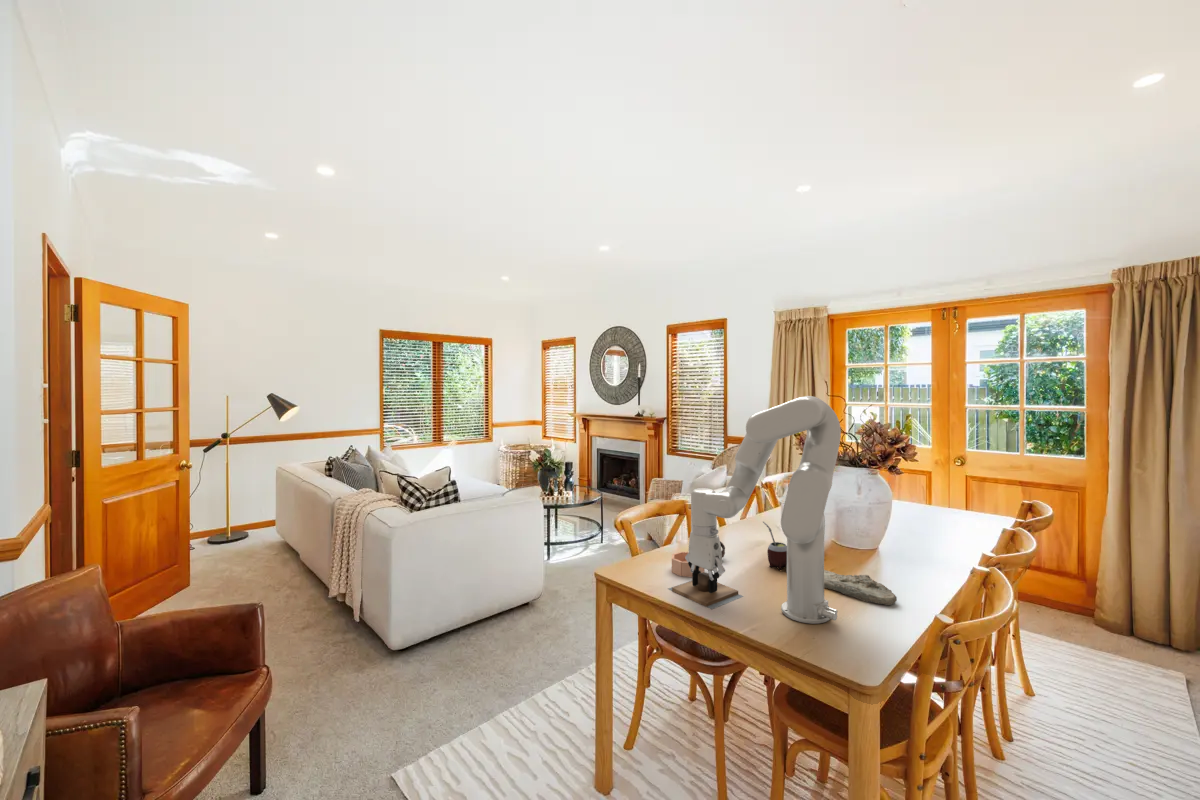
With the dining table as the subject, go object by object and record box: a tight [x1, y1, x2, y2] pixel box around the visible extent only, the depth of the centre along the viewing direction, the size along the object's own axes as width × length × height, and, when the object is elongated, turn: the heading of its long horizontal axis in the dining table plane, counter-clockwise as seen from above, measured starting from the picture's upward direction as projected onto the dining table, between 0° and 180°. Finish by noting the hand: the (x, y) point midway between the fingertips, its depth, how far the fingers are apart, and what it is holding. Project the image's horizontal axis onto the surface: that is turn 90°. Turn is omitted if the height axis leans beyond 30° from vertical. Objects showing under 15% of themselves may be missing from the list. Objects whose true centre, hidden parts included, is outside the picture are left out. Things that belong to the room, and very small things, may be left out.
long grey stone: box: [785, 565, 898, 606], centre depth 155 cm, size 35×5×10 cm
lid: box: [671, 571, 739, 608], centre depth 151 cm, size 14×14×5 cm
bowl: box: [671, 551, 705, 578], centre depth 169 cm, size 11×11×5 cm
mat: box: [667, 580, 744, 610], centre depth 151 cm, size 18×14×1 cm
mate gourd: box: [762, 521, 787, 571], centre depth 172 cm, size 8×8×15 cm
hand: (704, 587), depth 151 cm, fingers open, 5 cm apart
